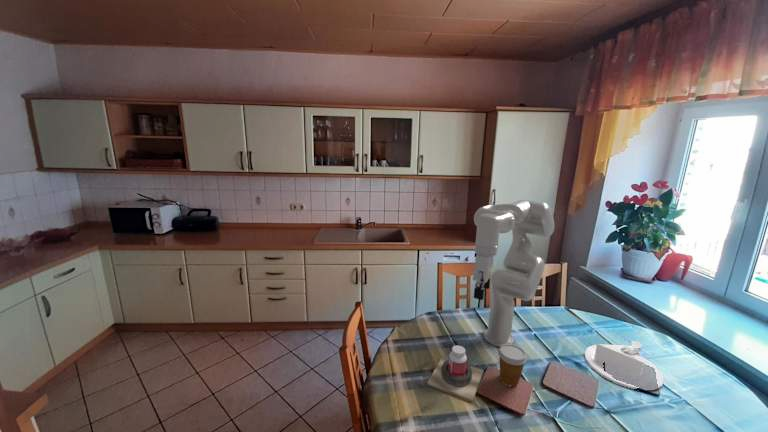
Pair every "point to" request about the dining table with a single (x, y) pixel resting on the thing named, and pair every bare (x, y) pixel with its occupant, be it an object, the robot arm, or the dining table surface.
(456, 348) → the pill bottle
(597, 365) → the dish
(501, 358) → the disposable coffee cup
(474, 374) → the socket board
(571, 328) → the dining table surface
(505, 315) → the robot arm
